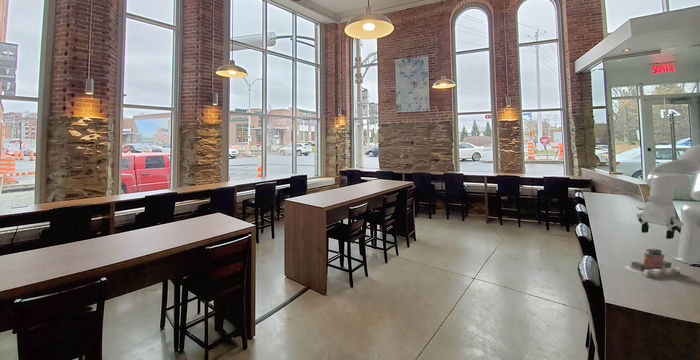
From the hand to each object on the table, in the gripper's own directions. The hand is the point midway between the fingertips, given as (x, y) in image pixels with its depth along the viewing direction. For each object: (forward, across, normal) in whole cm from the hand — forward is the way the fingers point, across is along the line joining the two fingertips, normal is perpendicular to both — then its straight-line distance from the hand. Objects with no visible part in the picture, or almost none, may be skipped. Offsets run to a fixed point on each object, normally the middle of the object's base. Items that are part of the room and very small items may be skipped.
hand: (656, 235), depth 136 cm
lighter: (+17, 0, -1) cm, 17 cm away
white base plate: (+18, 0, -1) cm, 18 cm away
